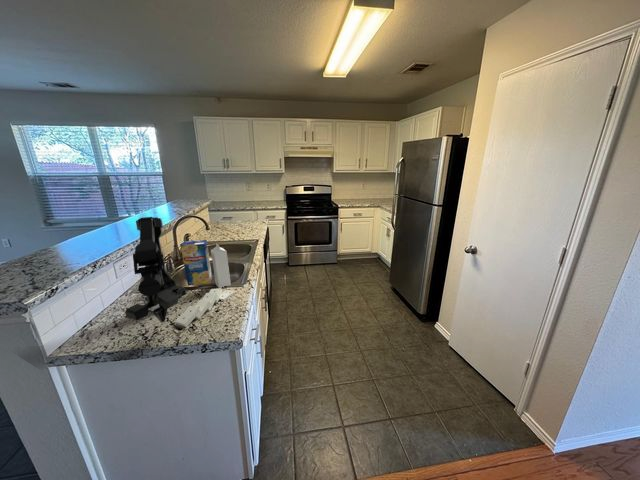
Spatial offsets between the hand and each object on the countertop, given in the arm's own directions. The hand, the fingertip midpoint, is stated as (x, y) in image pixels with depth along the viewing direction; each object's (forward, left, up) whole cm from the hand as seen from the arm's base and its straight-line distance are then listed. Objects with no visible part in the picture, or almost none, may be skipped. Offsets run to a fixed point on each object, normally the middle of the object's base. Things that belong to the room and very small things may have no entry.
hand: (162, 322), depth 92 cm
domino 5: (0, +27, -6) cm, 28 cm away
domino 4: (0, +18, -5) cm, 19 cm away
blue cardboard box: (-24, +38, -6) cm, 45 cm away
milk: (-10, +40, -6) cm, 41 cm away
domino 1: (0, +7, -5) cm, 8 cm away
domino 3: (-2, +23, -5) cm, 24 cm away
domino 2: (0, +12, -5) cm, 13 cm away
